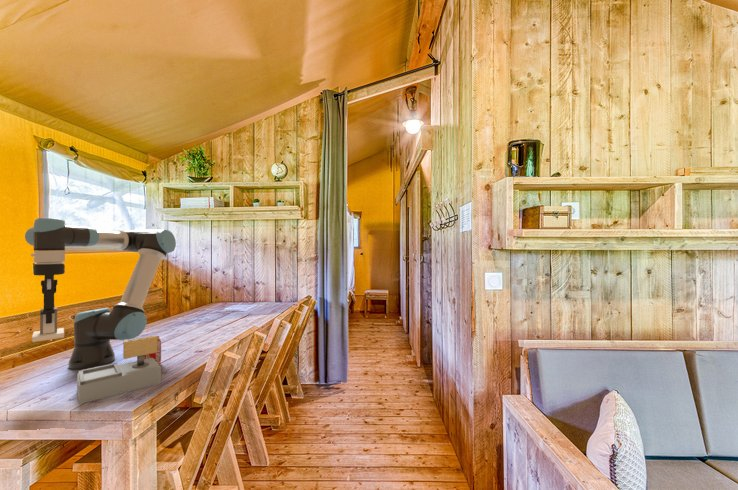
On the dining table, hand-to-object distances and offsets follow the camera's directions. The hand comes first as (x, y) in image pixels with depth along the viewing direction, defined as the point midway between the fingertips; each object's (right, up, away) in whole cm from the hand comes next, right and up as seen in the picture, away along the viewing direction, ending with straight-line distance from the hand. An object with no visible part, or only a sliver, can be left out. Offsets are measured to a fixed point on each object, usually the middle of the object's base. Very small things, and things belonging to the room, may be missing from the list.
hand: (48, 331), depth 107 cm
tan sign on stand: (+25, -15, +9) cm, 30 cm away
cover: (0, -2, 0) cm, 2 cm away
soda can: (+18, -22, +25) cm, 37 cm away
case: (+21, -21, +5) cm, 30 cm away
